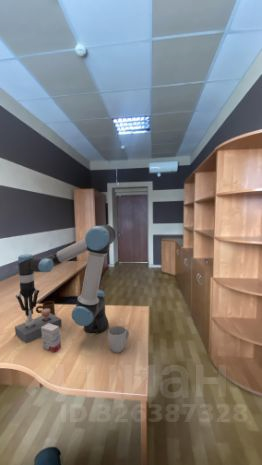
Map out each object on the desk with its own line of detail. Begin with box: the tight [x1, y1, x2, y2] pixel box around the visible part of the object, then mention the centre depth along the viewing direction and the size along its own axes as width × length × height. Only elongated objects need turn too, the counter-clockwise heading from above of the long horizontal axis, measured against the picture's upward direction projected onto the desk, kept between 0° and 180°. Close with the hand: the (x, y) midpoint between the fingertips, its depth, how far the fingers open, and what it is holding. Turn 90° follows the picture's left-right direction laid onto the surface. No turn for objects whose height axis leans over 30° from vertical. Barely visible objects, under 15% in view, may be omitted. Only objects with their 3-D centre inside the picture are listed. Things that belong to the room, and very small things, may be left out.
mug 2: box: [107, 325, 130, 353], centre depth 112 cm, size 13×9×10 cm
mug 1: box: [35, 300, 56, 316], centre depth 147 cm, size 12×8×9 cm, turn 124°
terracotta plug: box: [41, 308, 50, 322], centre depth 134 cm, size 5×5×8 cm
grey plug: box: [24, 318, 35, 329], centre depth 126 cm, size 5×5×8 cm
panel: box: [14, 313, 63, 344], centre depth 130 cm, size 14×22×5 cm, turn 139°
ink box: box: [41, 323, 62, 353], centre depth 113 cm, size 9×5×12 cm, turn 62°
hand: (29, 320), depth 126 cm, fingers closed
